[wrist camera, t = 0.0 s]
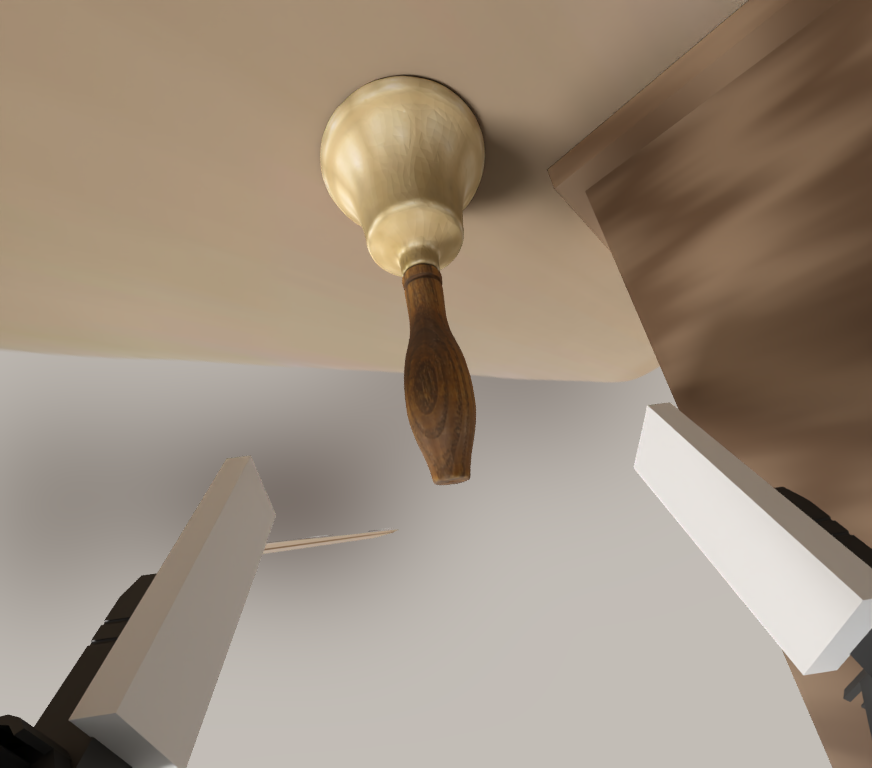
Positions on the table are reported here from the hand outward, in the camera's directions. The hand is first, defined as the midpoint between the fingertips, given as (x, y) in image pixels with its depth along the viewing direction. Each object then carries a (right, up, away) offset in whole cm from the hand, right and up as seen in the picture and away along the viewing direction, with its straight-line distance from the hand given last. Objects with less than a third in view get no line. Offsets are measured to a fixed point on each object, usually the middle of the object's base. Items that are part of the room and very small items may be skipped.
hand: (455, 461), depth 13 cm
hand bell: (-2, +14, +7) cm, 15 cm away
